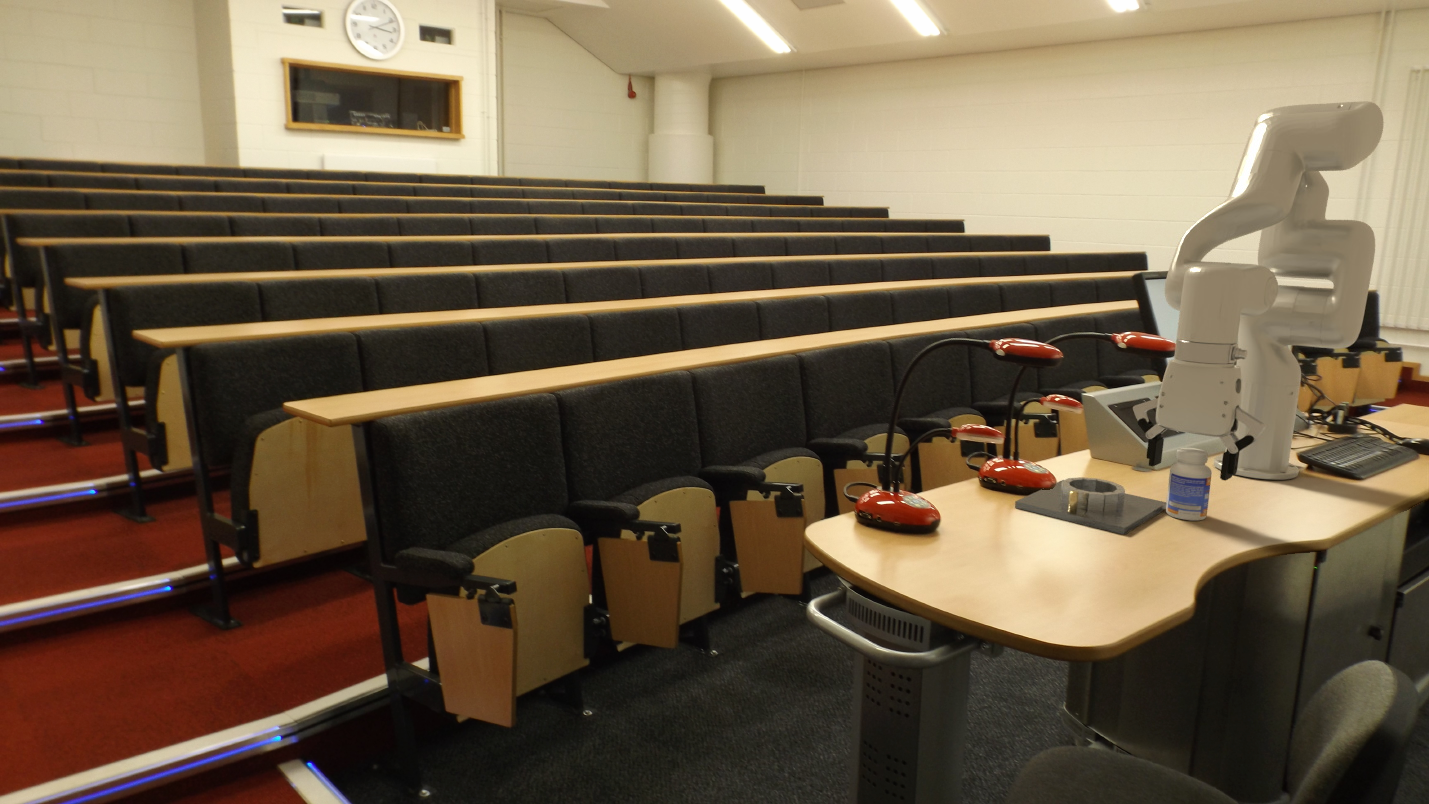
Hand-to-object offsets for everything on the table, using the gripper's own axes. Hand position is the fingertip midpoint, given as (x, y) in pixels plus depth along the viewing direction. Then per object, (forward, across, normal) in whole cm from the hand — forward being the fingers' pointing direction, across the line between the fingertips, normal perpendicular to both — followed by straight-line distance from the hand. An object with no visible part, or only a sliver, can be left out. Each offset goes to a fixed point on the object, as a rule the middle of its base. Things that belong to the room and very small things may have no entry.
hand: (1189, 471), depth 132 cm
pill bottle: (+7, 0, -1) cm, 7 cm away
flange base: (+7, +11, +6) cm, 14 cm away
